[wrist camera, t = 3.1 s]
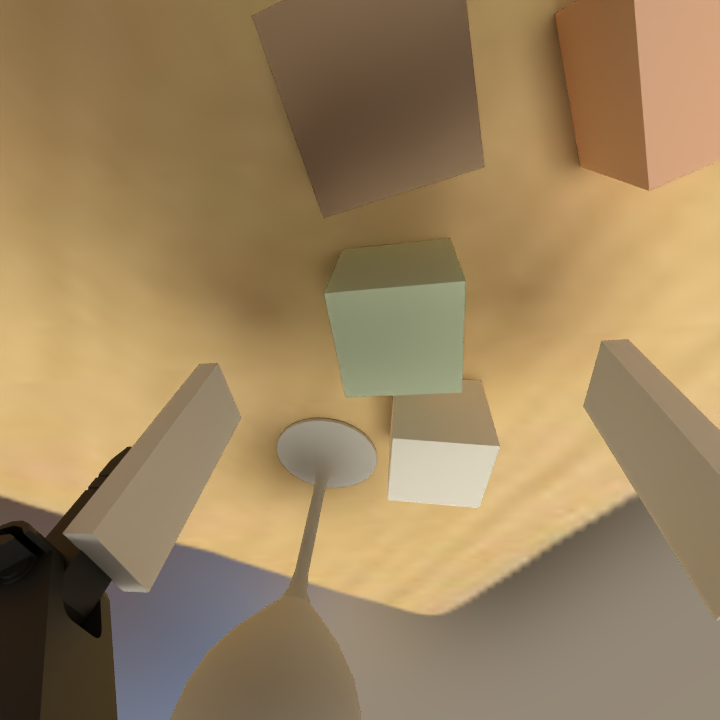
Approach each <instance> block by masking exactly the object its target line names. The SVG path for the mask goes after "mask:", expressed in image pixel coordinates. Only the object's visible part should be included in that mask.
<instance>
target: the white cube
mask: <svg viewBox="0 0 720 720" xmlns="http://www.w3.org/2000/svg"><path fill="white" fill-rule="evenodd" d="M499 448H500V444H499V441H498V437H497V434H496V430H495V427H494V423H493V420H492V416H491V413H490V409H489V406H488V402H487V399H486V395H485V392H484V388H483V385H482V381H479V380H463V379H462V393H441V394H416V395H393V402H392V414H391V427H390V447H389V474H388V500H393V501H405V502H416V503H427V504H439V505H450V506H461V507H473V508H479V507H480V504H481V501H482V498H483V495H484V492H485V489H486V486H487V483H488V480H489V478H490V475H491V472H492V469H493V466H494V463H495V460H496V457H497V454H498V451H499Z"/></svg>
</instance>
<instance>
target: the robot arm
mask: <svg viewBox="0 0 720 720" xmlns="http://www.w3.org/2000/svg"><path fill="white" fill-rule="evenodd" d="M583 407H584V408H585V410H586V412H587V413H588V415H589V416H590V418H591V420H592V421H593V423H594V425H595V426H596V428H597V429H598V431H599V433H600V434H601V436H602V437H603V439H604V441H605V442H606V444H607V446H608V447H609V449H610V450H611V452H612V454H613V455H614V457H615V458H616V460H617V462H618V463H619V465H620V467H621V468H622V470H623V471H624V473H625V475H626V476H627V478H628V479H629V481H630V483H631V484H632V486H633V488H634V489H635V491H636V492H637V494H638V496H639V497H640V499H641V500H642V502H643V504H644V505H645V507H646V508H647V510H648V512H649V513H650V515H651V517H652V518H653V520H654V521H655V523H656V525H657V526H658V528H659V530H660V531H661V533H662V534H663V536H664V538H665V539H666V541H667V542H668V544H669V546H670V547H671V549H672V550H673V552H674V554H675V555H676V557H677V559H678V560H679V562H680V563H681V565H682V567H683V568H684V570H685V572H686V573H687V575H688V576H689V578H690V580H691V581H692V583H693V584H694V585H695V588H696V589H697V591H698V592H699V594H700V596H701V597H702V599H703V600H704V602H705V604H706V605H707V607H708V608H709V610H710V612H711V614H712V615H713V617H714V618H715V620H719V621H720V430H719V429H718V428H717V427H716V426H715V425H714V424H713V423H712V422H711V421H710V420H709V419H708V418H707V417H706V416H705V415H704V414H703V413H702V412H701V411H700V410H699V409H698V408H697V407H696V406H695V405H694V404H693V403H692V402H691V401H690V400H689V399H688V398H687V397H686V396H685V395H684V394H683V393H682V392H681V391H680V390H679V389H678V388H677V387H676V386H675V385H673V384H672V383H671V382H670V381H669V380H668V379H667V378H666V377H665V376H664V375H663V374H662V373H661V372H660V371H659V370H658V369H657V368H656V367H655V366H654V365H653V364H652V363H651V362H650V361H649V360H648V359H647V358H646V357H645V356H644V355H643V354H642V353H641V352H640V351H639V350H638V349H637V348H636V347H635V346H634V345H633V344H632V343H631V342H630V341H629V340H628V339H625V340H608V341H601V345H600V348H599V352H598V356H597V359H596V363H595V366H594V370H593V373H592V377H591V381H590V384H589V388H588V391H587V395H586V398H585V402H584V406H583ZM240 419H241V416H240V413H239V411H238V409H237V406H236V404H235V401H234V399H233V397H232V394H231V392H230V390H229V387H228V385H227V383H226V380H225V378H224V376H223V373H222V371H221V369H220V366H219V364H218V363H209V364H199V365H198V366H197V368H196V369H195V370H194V371H193V372H192V374H191V375H190V376H189V377H188V379H187V380H186V381H185V382H184V384H183V385H182V386H181V387H180V389H179V390H178V391H177V392H176V393H175V395H174V396H173V397H172V398H171V400H170V401H169V402H168V403H167V405H166V406H165V407H164V408H163V410H162V411H161V412H160V413H159V414H158V416H157V417H156V418H155V419H154V421H153V422H152V423H151V424H150V426H149V427H148V428H147V429H146V431H145V432H144V433H143V434H142V435H141V437H140V438H139V439H138V440H137V442H136V443H135V444H134V445H133V447H127V448H126V449H124V450H123V451H122V452H120V453H119V454H118V455H117V456H115V457H114V458H113V459H112V460H111V461H110V462H109V463H108V464H107V465H106V466H105V468H104V469H103V470H102V471H101V472H100V474H99V477H98V478H95V480H94V481H93V482H92V483H91V484H90V486H89V487H88V490H85V491H84V493H83V494H82V495H81V496H80V497H79V499H78V500H77V501H76V502H75V503H74V505H73V506H72V507H71V508H70V509H69V511H68V512H67V513H66V514H65V515H64V517H63V518H62V519H61V520H60V521H59V523H58V524H57V525H56V526H55V527H54V528H53V530H52V531H51V532H50V533H49V534H48V535H47V537H46V538H44V537H43V536H42V535H41V534H40V533H39V532H38V531H36V530H35V529H34V528H33V527H32V526H31V525H30V524H29V523H26V522H24V521H13V522H10V523H7V524H5V525H2V526H0V720H117V706H116V691H115V676H114V661H113V647H112V631H111V616H110V601H109V598H108V595H107V593H105V590H106V588H107V587H108V585H109V583H110V582H111V580H112V581H113V582H114V583H115V584H116V585H117V586H118V587H119V588H120V589H121V590H122V591H132V592H149V591H150V589H151V587H152V585H153V583H154V581H155V580H156V578H157V576H158V574H159V572H160V570H161V568H162V566H163V564H164V563H165V561H166V559H167V557H168V555H169V553H170V551H171V549H172V547H173V546H174V544H175V542H176V540H177V538H178V536H179V534H180V532H181V530H182V529H183V527H184V525H185V523H186V521H187V519H188V517H189V515H190V513H191V512H192V510H193V508H194V506H195V504H196V502H197V500H198V498H199V496H200V495H201V493H202V491H203V489H204V487H205V485H206V483H207V481H208V479H209V478H210V476H211V474H212V472H213V470H214V468H215V466H216V464H217V462H218V461H219V459H220V457H221V455H222V453H223V451H224V449H225V447H226V445H227V444H228V442H229V440H230V438H231V436H232V434H233V432H234V430H235V428H236V426H237V425H238V423H239V421H240Z"/></svg>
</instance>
